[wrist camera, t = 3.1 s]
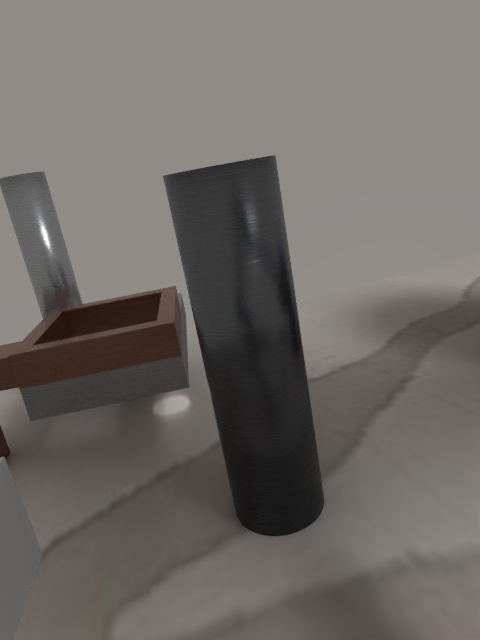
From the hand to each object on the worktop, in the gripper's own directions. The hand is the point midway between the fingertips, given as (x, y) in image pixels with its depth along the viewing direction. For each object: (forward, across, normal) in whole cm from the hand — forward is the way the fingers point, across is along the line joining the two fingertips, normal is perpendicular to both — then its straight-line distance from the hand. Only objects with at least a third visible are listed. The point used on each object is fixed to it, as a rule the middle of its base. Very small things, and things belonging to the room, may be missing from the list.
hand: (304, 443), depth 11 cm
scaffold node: (+23, -11, -9) cm, 27 cm away
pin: (+10, 0, -10) cm, 14 cm away
